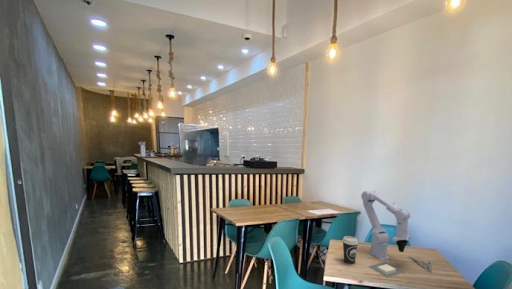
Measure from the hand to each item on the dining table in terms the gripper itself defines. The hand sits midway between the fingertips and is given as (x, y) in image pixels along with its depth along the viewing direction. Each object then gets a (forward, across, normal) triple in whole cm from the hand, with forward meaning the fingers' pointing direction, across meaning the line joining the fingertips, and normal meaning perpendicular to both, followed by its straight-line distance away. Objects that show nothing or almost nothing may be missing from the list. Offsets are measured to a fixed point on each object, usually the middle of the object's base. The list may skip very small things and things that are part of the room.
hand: (401, 251), depth 149 cm
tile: (+8, -10, -1) cm, 13 cm away
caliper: (+10, +14, -3) cm, 17 cm away
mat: (+9, -12, 0) cm, 15 cm away
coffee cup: (+10, -26, +16) cm, 32 cm away
